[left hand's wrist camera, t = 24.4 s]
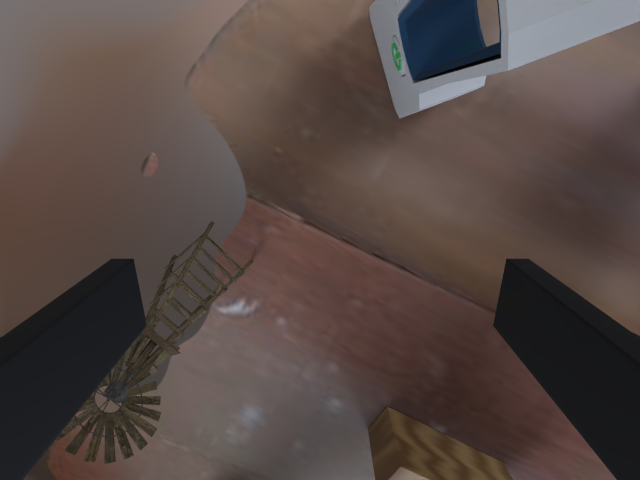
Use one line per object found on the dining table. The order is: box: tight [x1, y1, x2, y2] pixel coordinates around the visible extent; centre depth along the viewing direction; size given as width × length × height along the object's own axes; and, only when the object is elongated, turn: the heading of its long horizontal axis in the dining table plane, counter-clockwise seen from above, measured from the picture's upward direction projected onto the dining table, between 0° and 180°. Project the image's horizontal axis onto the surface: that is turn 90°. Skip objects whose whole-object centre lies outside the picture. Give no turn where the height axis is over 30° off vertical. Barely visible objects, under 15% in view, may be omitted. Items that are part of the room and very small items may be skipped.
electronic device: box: [369, 0, 640, 119], centre depth 28 cm, size 12×8×30 cm, turn 20°
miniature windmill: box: [55, 222, 253, 464], centre depth 37 cm, size 9×8×30 cm
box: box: [368, 406, 513, 480], centre depth 58 cm, size 26×6×11 cm, turn 59°
